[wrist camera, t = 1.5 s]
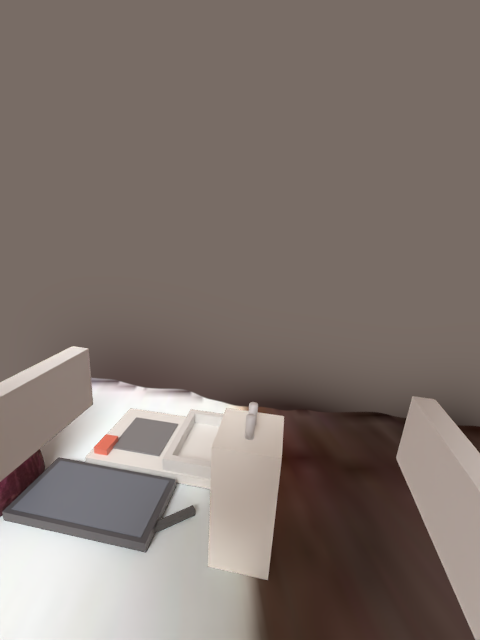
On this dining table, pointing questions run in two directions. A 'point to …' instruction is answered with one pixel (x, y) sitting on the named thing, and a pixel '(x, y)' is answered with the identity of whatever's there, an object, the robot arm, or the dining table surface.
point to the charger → (244, 491)
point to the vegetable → (20, 479)
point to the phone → (94, 503)
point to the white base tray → (161, 445)
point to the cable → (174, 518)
